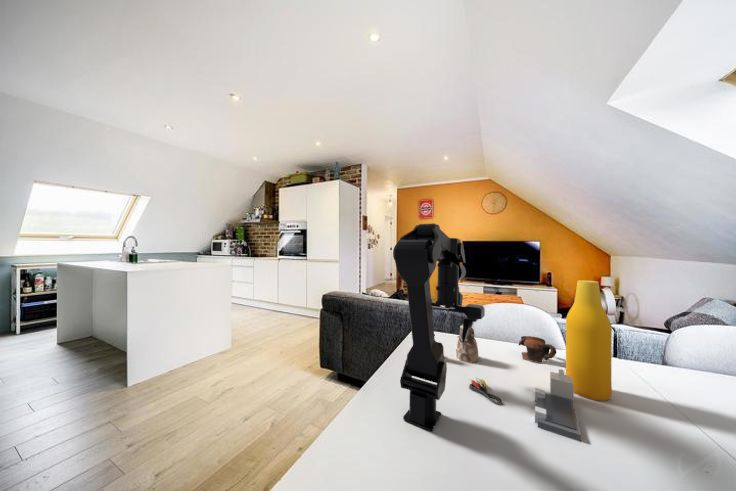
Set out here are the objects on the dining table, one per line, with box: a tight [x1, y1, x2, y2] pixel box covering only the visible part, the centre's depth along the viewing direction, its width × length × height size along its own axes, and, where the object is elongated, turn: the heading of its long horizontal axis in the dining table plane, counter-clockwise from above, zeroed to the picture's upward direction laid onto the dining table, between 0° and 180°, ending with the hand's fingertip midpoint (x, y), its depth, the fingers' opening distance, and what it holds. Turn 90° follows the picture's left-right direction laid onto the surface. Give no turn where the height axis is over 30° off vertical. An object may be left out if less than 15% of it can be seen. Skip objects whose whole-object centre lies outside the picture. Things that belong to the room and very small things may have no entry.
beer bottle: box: [565, 279, 613, 402], centre depth 67 cm, size 9×9×29 cm
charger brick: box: [549, 368, 575, 405], centre depth 64 cm, size 4×4×7 cm
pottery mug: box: [518, 335, 557, 364], centre depth 87 cm, size 12×10×8 cm
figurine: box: [455, 322, 479, 364], centre depth 87 cm, size 7×7×12 cm
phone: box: [534, 387, 582, 442], centre depth 57 cm, size 14×8×2 cm, turn 147°
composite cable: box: [468, 376, 503, 406], centre depth 65 cm, size 10×5×2 cm, turn 8°
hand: (446, 338), depth 72 cm, fingers open, 9 cm apart
